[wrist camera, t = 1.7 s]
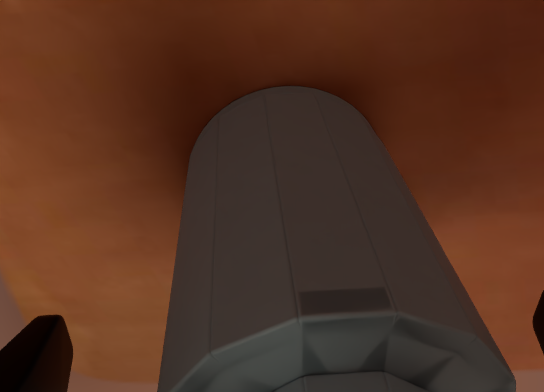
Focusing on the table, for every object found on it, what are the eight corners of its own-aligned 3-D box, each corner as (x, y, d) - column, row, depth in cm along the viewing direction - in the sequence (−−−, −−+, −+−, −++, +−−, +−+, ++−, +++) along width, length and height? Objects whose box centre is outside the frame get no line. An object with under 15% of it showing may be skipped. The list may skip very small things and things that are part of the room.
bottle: (373, 249, 15) (553, 720, 7) (194, 258, 15) (151, 762, 6) (395, 81, 12) (749, 532, 4) (175, 88, 12) (53, 592, 4)
